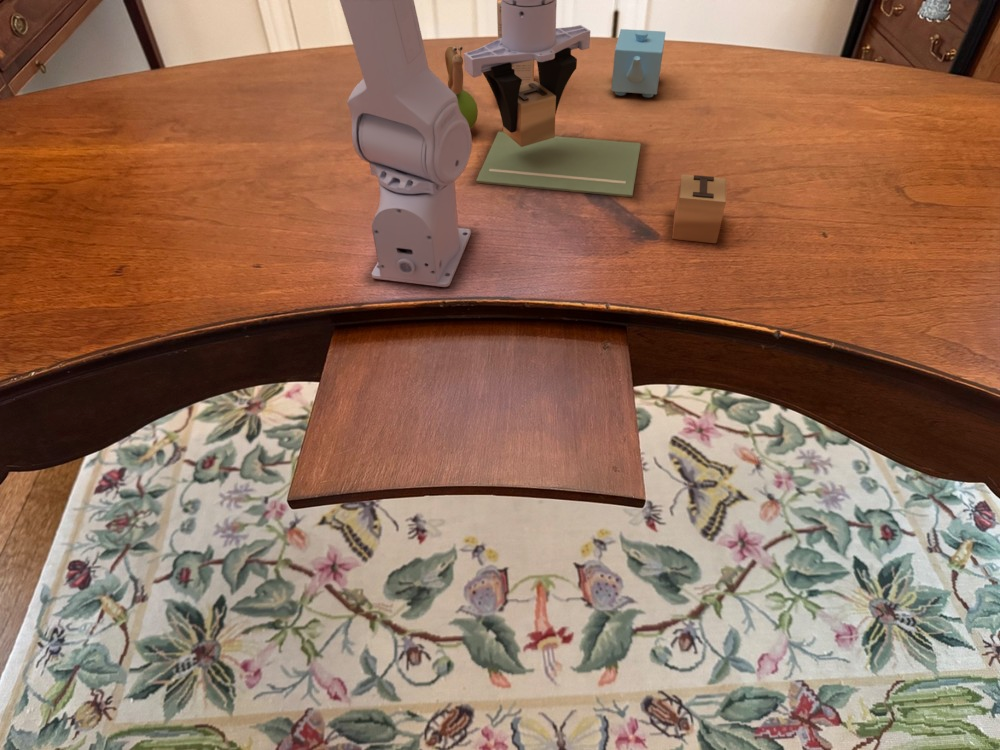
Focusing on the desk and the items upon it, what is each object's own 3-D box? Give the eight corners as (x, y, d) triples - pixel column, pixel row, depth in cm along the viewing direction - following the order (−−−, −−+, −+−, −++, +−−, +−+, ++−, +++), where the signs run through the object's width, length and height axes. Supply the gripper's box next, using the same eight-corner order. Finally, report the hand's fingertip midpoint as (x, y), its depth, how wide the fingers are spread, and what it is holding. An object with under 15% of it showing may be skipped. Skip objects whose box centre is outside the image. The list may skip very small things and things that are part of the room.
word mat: (632, 197, 80) (632, 194, 80) (476, 182, 83) (476, 180, 83) (640, 145, 88) (641, 142, 88) (498, 133, 91) (498, 131, 91)
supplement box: (534, 105, 96) (535, 1, 87) (498, 106, 96) (496, 2, 87) (533, 79, 102) (534, -22, 92) (500, 79, 102) (497, -21, 93)
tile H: (554, 137, 83) (556, 93, 79) (521, 147, 82) (521, 103, 78) (535, 121, 86) (535, 79, 82) (502, 131, 84) (501, 88, 81)
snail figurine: (443, 149, 88) (434, 50, 80) (432, 125, 93) (423, 29, 84) (485, 142, 89) (481, 44, 81) (473, 119, 94) (467, 23, 85)
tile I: (716, 243, 73) (726, 199, 70) (672, 239, 74) (679, 195, 70) (716, 219, 76) (726, 176, 73) (674, 215, 77) (681, 172, 73)
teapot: (654, 112, 94) (662, 54, 88) (607, 109, 95) (612, 51, 89) (659, 74, 102) (667, 18, 97) (617, 71, 103) (622, 16, 98)
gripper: (484, 23, 68) (489, 154, 78) (610, -5, 73) (600, 121, 82) (452, 1, 72) (460, 127, 82) (572, -25, 77) (567, 98, 87)
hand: (528, 123), depth 83 cm, fingers closed on tile H, 4 cm apart
